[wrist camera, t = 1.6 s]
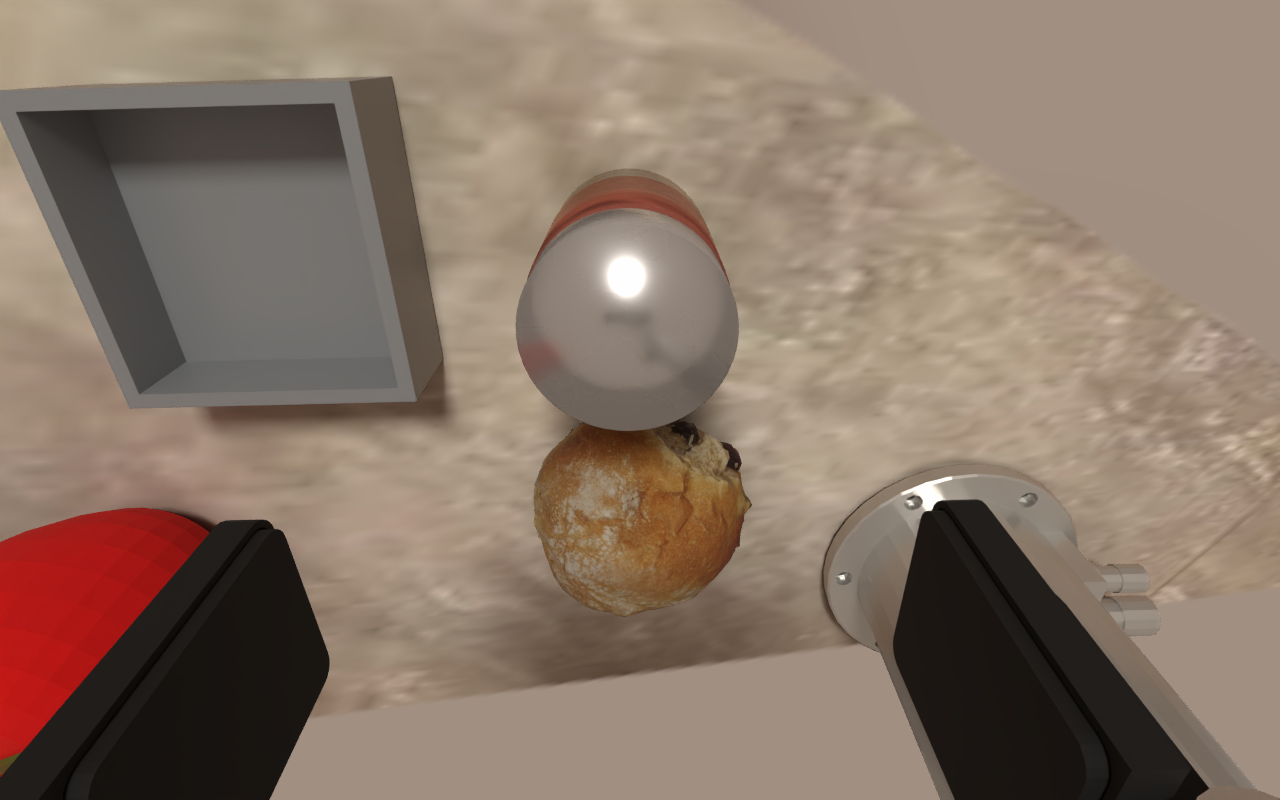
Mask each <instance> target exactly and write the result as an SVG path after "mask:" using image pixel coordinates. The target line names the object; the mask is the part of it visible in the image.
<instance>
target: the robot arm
mask: <svg viewBox="0 0 1280 800" xmlns="http://www.w3.org/2000/svg"><path fill="white" fill-rule="evenodd" d="M823 573H824V589H825V592H826V595H827V598H828V602H829V605H830V608H831V610H832V612H833V614H834V616H835V618H836V620H837V622H838V623H839V624H840V625H841V627H842V628H843V629H844V630H845V631H846V633H847V634H848V635H850V636H851V637H852V638H854V639H855V640H856V641H858V642H859V643H861V644H862V645H864V646H866V647H868V648H870V649H872V650H874V651H877V652H880V653H881V655H882V657H883V659H884V662H885V665H886V667H887V670H888V672H889V675H890V677H891V679H892V682H893V684H894V687H895V689H896V692H897V694H898V697H899V699H900V701H901V704H902V706H903V709H904V711H905V714H906V716H907V719H908V721H909V724H910V726H911V729H912V731H913V733H914V736H915V738H916V741H917V743H918V746H919V748H920V751H921V753H922V756H923V758H924V761H925V763H926V765H927V768H928V770H929V773H930V775H931V778H932V780H933V783H934V785H935V788H936V790H937V792H938V795H939V797H940V800H1280V799H1279V798H1277V797H1274V796H1271V795H1269V794H1266V793H1264V792H1261V791H1259V790H1258V789H1257V788H1256V787H1255V786H1254V785H1253V783H1252V782H1251V781H1250V780H1249V779H1248V777H1247V776H1246V775H1245V774H1244V773H1243V771H1242V770H1241V769H1240V768H1239V767H1238V766H1237V764H1236V763H1235V762H1234V761H1233V760H1232V758H1231V757H1230V756H1229V755H1228V754H1227V752H1226V751H1225V750H1224V749H1223V748H1222V746H1221V745H1220V744H1219V743H1218V742H1217V741H1216V739H1215V738H1214V737H1213V736H1212V735H1211V733H1210V732H1209V731H1208V730H1207V729H1206V728H1205V726H1204V725H1203V724H1202V723H1201V722H1200V720H1199V719H1198V718H1197V717H1196V716H1195V714H1194V713H1193V712H1192V711H1191V710H1190V709H1189V708H1188V706H1187V705H1186V704H1185V702H1183V700H1182V699H1181V698H1180V697H1179V695H1178V694H1177V693H1176V692H1175V691H1174V689H1173V688H1172V687H1171V686H1170V685H1169V683H1168V682H1167V681H1166V680H1165V679H1164V678H1163V676H1162V675H1161V674H1160V673H1159V672H1158V671H1157V669H1156V668H1155V667H1154V666H1153V664H1152V663H1151V662H1150V661H1149V660H1148V659H1147V657H1146V656H1145V655H1144V654H1143V653H1142V651H1141V650H1140V649H1139V648H1138V647H1137V646H1136V644H1135V643H1134V642H1133V641H1132V640H1131V638H1130V637H1129V636H1150V635H1155V634H1157V632H1158V631H1159V629H1160V625H1161V618H1160V614H1159V611H1158V609H1157V607H1156V606H1155V604H1154V603H1153V601H1152V600H1150V599H1149V598H1148V597H1146V596H1104V597H1103V595H1104V593H1105V592H1113V593H1136V592H1146V591H1147V589H1148V588H1149V583H1150V580H1149V576H1148V573H1147V572H1146V570H1145V569H1144V567H1143V566H1141V565H1139V564H1109V565H1107V566H1096V565H1095V564H1094V563H1093V562H1091V561H1088V560H1087V559H1086V558H1085V557H1084V555H1083V554H1082V553H1081V552H1080V551H1079V550H1078V545H1077V532H1076V530H1075V527H1074V524H1073V522H1072V519H1071V516H1070V515H1069V513H1068V512H1067V511H1066V509H1065V508H1064V507H1063V505H1062V504H1061V503H1060V501H1059V500H1058V499H1057V498H1056V497H1054V496H1053V495H1052V494H1051V493H1050V492H1049V491H1048V490H1047V489H1046V488H1045V487H1044V486H1043V485H1042V484H1040V483H1039V482H1037V481H1035V480H1034V479H1032V478H1030V477H1029V476H1027V475H1025V474H1022V473H1019V472H1016V471H1013V470H1010V469H1007V468H1003V467H996V466H989V465H982V464H980V465H954V466H949V467H943V468H937V469H932V470H929V471H925V472H922V473H919V474H916V475H913V476H910V477H907V478H905V479H903V480H901V481H899V482H897V483H895V484H893V485H891V486H889V487H887V488H885V489H883V490H882V491H880V492H879V493H878V494H876V495H875V496H873V497H872V498H870V499H869V500H868V501H866V502H865V503H863V504H862V505H861V506H860V507H859V508H858V509H857V510H856V511H855V512H854V513H853V514H852V515H851V516H850V517H849V518H848V519H847V520H846V522H845V523H844V524H843V526H842V527H841V529H840V530H839V531H838V533H837V534H836V536H835V537H834V540H833V542H832V544H831V546H830V548H829V550H828V553H827V556H826V561H825V566H824V571H823ZM1102 597H1103V598H1102ZM328 672H329V655H328V651H327V649H326V646H325V643H324V640H323V638H322V635H321V632H320V630H319V627H318V624H317V621H316V619H315V616H314V613H313V610H312V608H311V605H310V602H309V600H308V597H307V594H306V591H305V589H304V586H303V583H302V581H301V578H300V575H299V572H298V570H297V567H296V564H295V561H294V559H293V556H292V553H291V551H290V548H289V545H288V542H287V540H286V537H285V535H284V533H283V532H282V531H281V530H278V529H274V527H273V526H272V524H271V523H270V522H269V521H267V520H231V521H223V522H220V523H219V524H218V525H217V526H215V527H214V528H213V530H212V531H211V532H210V533H209V534H208V535H207V537H206V538H205V539H204V540H203V541H202V542H201V544H200V545H199V546H198V547H197V548H196V549H195V551H194V552H193V553H192V554H191V555H190V556H189V558H188V559H187V560H186V561H185V562H184V563H183V565H182V566H181V567H180V568H179V569H178V570H177V572H176V573H175V574H174V575H173V576H172V577H171V579H170V580H169V581H168V582H167V583H166V584H165V586H164V587H163V588H162V589H161V590H160V591H159V593H158V594H157V595H156V596H155V597H154V598H153V600H152V601H151V602H150V603H149V604H148V605H147V607H146V608H145V609H144V610H143V611H142V612H141V614H140V615H139V616H138V617H137V618H136V619H135V621H134V622H133V623H132V624H131V625H130V626H129V628H128V629H127V630H126V631H125V632H124V633H123V635H122V636H121V637H120V638H119V639H118V640H117V642H116V643H115V644H114V645H113V646H112V647H111V649H110V650H109V651H108V652H107V653H106V654H105V656H104V657H103V658H102V659H101V660H100V661H99V663H98V664H97V665H96V666H95V667H94V668H93V670H92V671H91V672H90V673H89V674H88V675H87V677H86V678H85V679H84V680H83V681H82V682H81V684H80V685H79V686H78V687H77V688H76V689H75V691H74V692H73V693H72V694H71V695H70V696H69V698H68V699H67V700H66V701H65V702H64V703H63V705H62V706H61V707H60V708H59V709H58V710H57V712H56V713H55V714H54V715H53V716H52V717H51V719H50V720H49V721H48V722H47V723H46V724H45V726H44V727H43V728H42V729H41V730H40V731H39V733H38V734H37V735H36V736H35V737H34V738H33V740H32V741H31V742H30V743H29V744H28V745H27V747H26V748H25V749H24V750H23V751H22V752H21V754H20V755H19V756H18V757H17V758H16V759H15V761H14V762H13V763H12V764H11V765H10V766H9V768H8V769H7V770H6V771H5V772H4V773H3V775H2V776H1V777H0V800H269V799H270V797H271V795H272V793H273V791H274V789H275V786H276V785H277V782H278V780H279V778H280V776H281V774H282V772H283V770H284V768H285V766H286V764H287V761H288V759H289V757H290V755H291V753H292V751H293V749H294V747H295V745H296V742H297V740H298V738H299V736H300V734H301V732H302V730H303V727H304V726H305V724H306V722H307V719H308V717H309V715H310V713H311V711H312V709H313V707H314V705H315V703H316V701H317V698H318V696H319V694H320V692H321V690H322V688H323V686H324V684H325V682H326V679H327V676H328Z"/></svg>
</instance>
